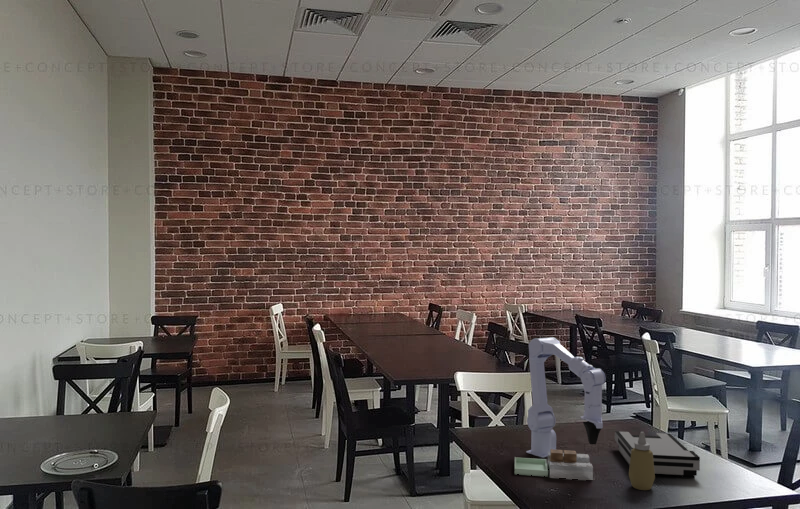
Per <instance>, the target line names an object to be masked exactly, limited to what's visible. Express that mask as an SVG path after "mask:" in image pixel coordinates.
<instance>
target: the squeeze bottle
mask: <svg viewBox="0 0 800 509" xmlns="http://www.w3.org/2000/svg"><path fill="white" fill-rule="evenodd" d="M645 436H646V434H645V432H644V431H640V433H639V439H638V442H635V443H634V447H635V448H633V449H632V450H631V458H630V466H629V465H628V466H629V467H628V468H629V469H628V478H629V480H630V483H631V484H630V485H631V486H632V487H633V488H634V489H636V490H640V491H650V490H651V489H652V487H653V485H654V481H655V480H656V475H655V472H654V461H653V452H652V451H651V450H649V449H650V444H649V443H647V442H646V439H645Z"/></svg>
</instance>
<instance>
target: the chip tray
mask: <svg viewBox="0 0 800 509" xmlns="http://www.w3.org/2000/svg"><path fill="white" fill-rule="evenodd" d="M517 474H519V475H520V476H531V475H532V476H533V477H534V476H535V477H544V476H545V478H546V477H547V478H549V470H548V459H546V458H534V457H533V458H532V457H531V458H530V457H518V456H517V457H516V456H514V475H517Z"/></svg>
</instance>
